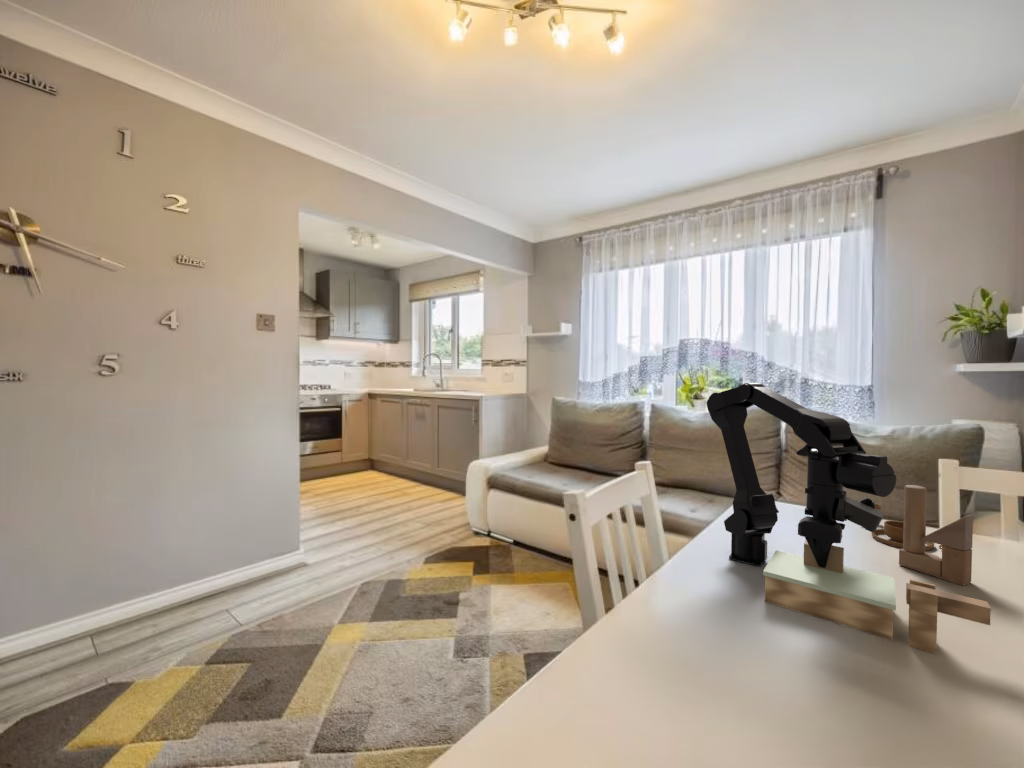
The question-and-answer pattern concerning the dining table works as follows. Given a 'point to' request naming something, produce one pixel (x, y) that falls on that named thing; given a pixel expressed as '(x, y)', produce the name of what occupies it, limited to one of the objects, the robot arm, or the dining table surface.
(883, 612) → the tan wooden box
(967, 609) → the wooden plank
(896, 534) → the place setting
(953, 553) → the wooden block structure
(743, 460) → the robot arm
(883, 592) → the lid
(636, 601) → the dining table surface
